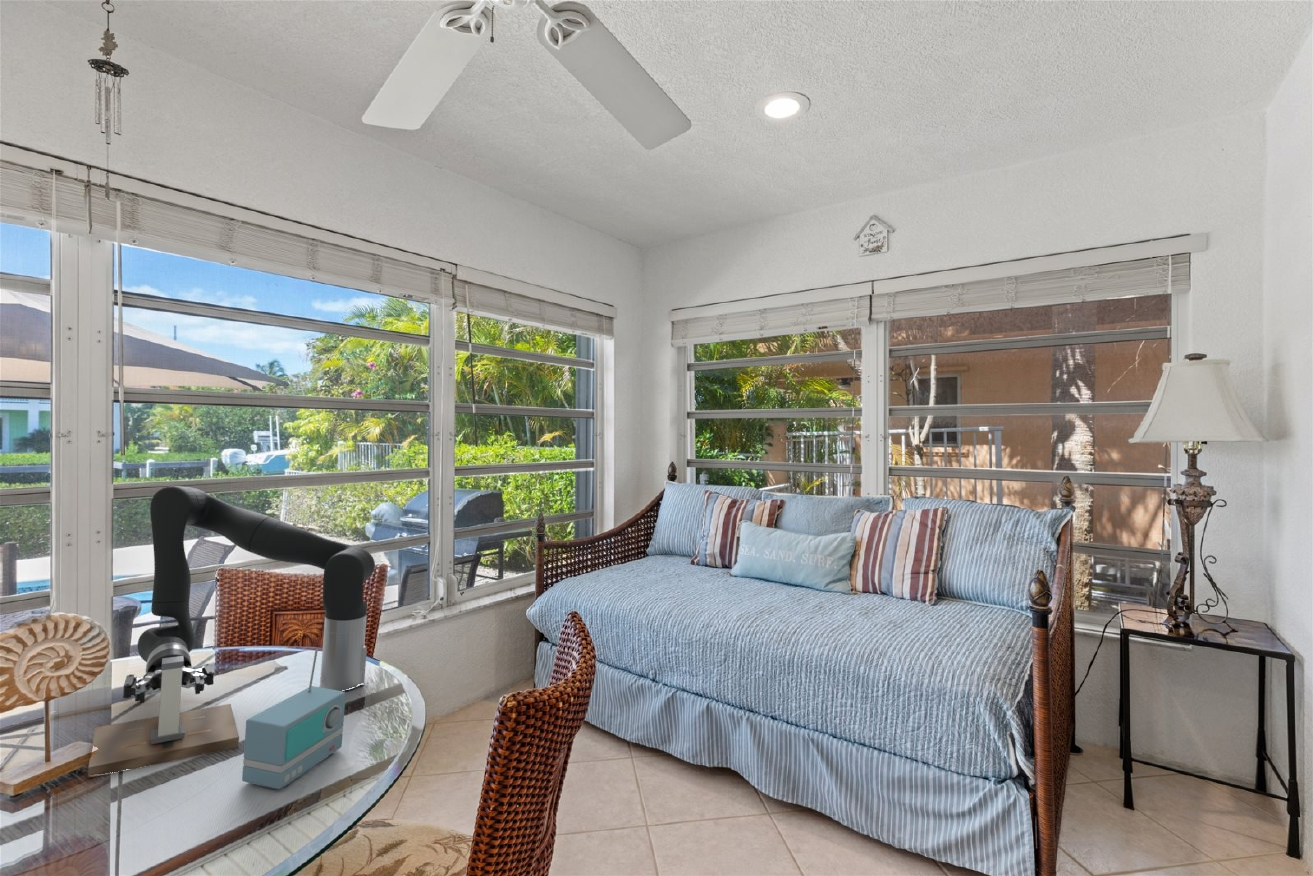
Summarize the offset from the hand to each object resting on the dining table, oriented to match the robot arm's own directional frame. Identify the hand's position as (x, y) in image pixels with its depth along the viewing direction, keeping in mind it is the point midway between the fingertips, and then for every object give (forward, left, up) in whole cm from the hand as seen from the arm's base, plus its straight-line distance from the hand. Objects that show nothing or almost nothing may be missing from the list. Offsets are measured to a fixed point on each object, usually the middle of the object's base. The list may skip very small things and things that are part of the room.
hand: (170, 693), depth 122 cm
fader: (0, +1, -8) cm, 8 cm away
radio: (-19, +20, -11) cm, 29 cm away
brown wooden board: (0, -2, -10) cm, 11 cm away
